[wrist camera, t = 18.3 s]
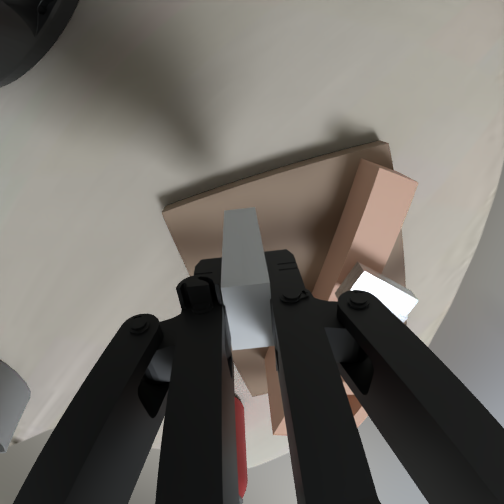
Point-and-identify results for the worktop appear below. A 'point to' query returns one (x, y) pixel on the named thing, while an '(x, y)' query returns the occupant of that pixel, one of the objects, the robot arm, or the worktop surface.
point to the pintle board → (280, 224)
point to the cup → (11, 403)
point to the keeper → (379, 289)
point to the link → (354, 255)
